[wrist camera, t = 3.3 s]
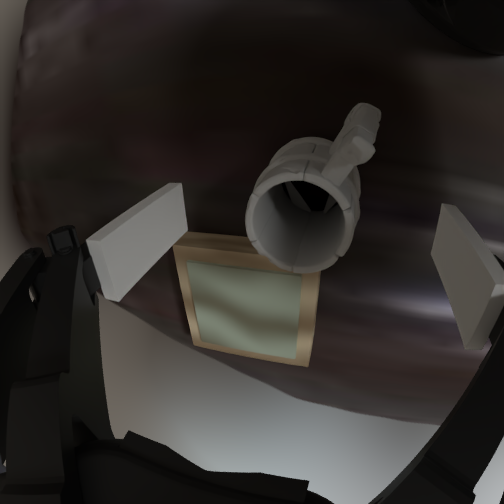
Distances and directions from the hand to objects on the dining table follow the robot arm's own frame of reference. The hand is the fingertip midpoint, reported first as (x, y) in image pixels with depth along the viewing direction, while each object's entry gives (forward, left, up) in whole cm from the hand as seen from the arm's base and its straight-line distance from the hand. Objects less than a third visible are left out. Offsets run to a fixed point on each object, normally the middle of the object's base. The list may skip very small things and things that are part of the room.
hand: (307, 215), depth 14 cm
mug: (0, 0, -12) cm, 12 cm away
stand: (+15, -7, -12) cm, 20 cm away
